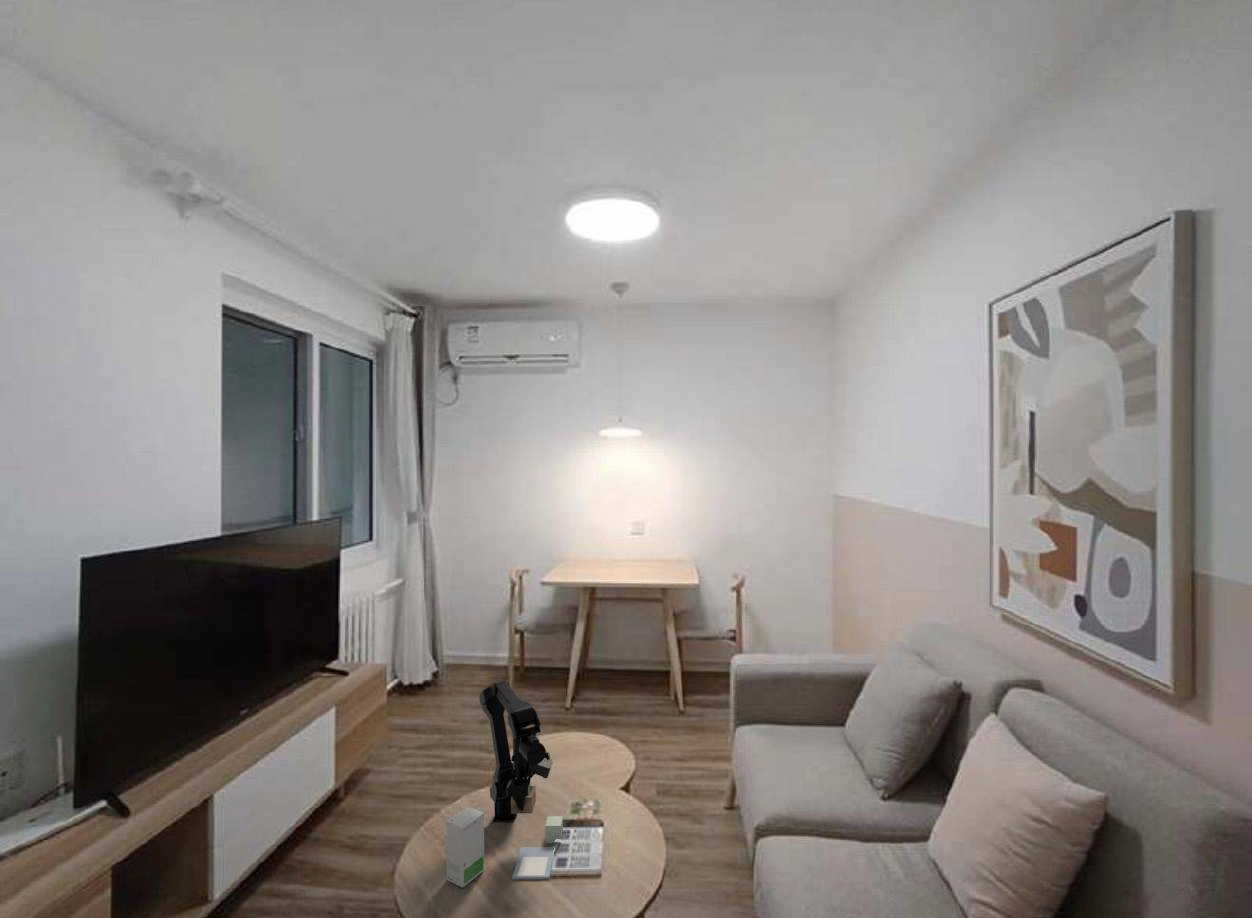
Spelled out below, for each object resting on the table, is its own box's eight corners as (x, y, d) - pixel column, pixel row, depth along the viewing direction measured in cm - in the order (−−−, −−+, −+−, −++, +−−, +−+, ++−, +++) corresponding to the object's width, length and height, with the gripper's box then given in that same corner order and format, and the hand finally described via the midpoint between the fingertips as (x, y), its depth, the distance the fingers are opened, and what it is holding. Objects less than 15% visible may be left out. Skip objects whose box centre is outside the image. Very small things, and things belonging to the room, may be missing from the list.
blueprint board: (512, 879, 151) (511, 876, 151) (520, 849, 163) (520, 846, 163) (549, 879, 151) (549, 876, 151) (555, 848, 163) (555, 846, 163)
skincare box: (462, 889, 148) (461, 828, 148) (444, 879, 151) (444, 821, 151) (485, 869, 155) (485, 812, 155) (469, 861, 158) (468, 804, 158)
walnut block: (511, 813, 163) (510, 797, 163) (515, 801, 169) (515, 786, 169) (531, 813, 163) (531, 797, 163) (535, 801, 169) (535, 786, 169)
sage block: (545, 843, 165) (545, 825, 165) (547, 833, 170) (547, 816, 170) (561, 842, 165) (560, 825, 165) (563, 832, 170) (562, 816, 170)
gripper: (545, 766, 157) (546, 823, 157) (554, 734, 176) (555, 785, 175) (505, 766, 157) (506, 823, 157) (518, 735, 176) (519, 786, 176)
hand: (523, 803), depth 166 cm, fingers closed on walnut block, 6 cm apart
